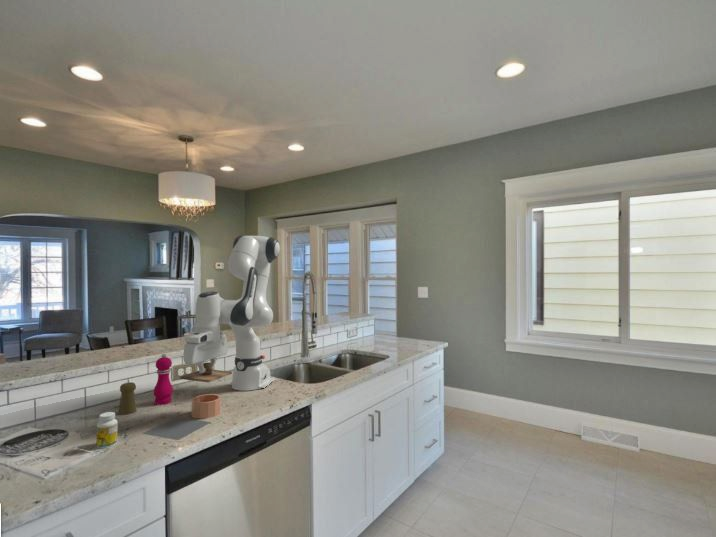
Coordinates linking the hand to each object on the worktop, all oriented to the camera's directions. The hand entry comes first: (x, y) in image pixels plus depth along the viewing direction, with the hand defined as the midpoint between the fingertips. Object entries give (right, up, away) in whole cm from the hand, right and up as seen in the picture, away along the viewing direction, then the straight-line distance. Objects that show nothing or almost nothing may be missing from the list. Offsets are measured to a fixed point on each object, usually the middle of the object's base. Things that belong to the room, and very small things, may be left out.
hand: (206, 371), depth 141 cm
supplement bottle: (-20, -16, -26) cm, 37 cm away
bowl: (0, -16, 0) cm, 16 cm away
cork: (-31, -16, +2) cm, 35 cm away
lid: (0, -2, 0) cm, 2 cm away
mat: (-4, -16, -13) cm, 21 cm away
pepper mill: (-23, -17, +13) cm, 31 cm away
